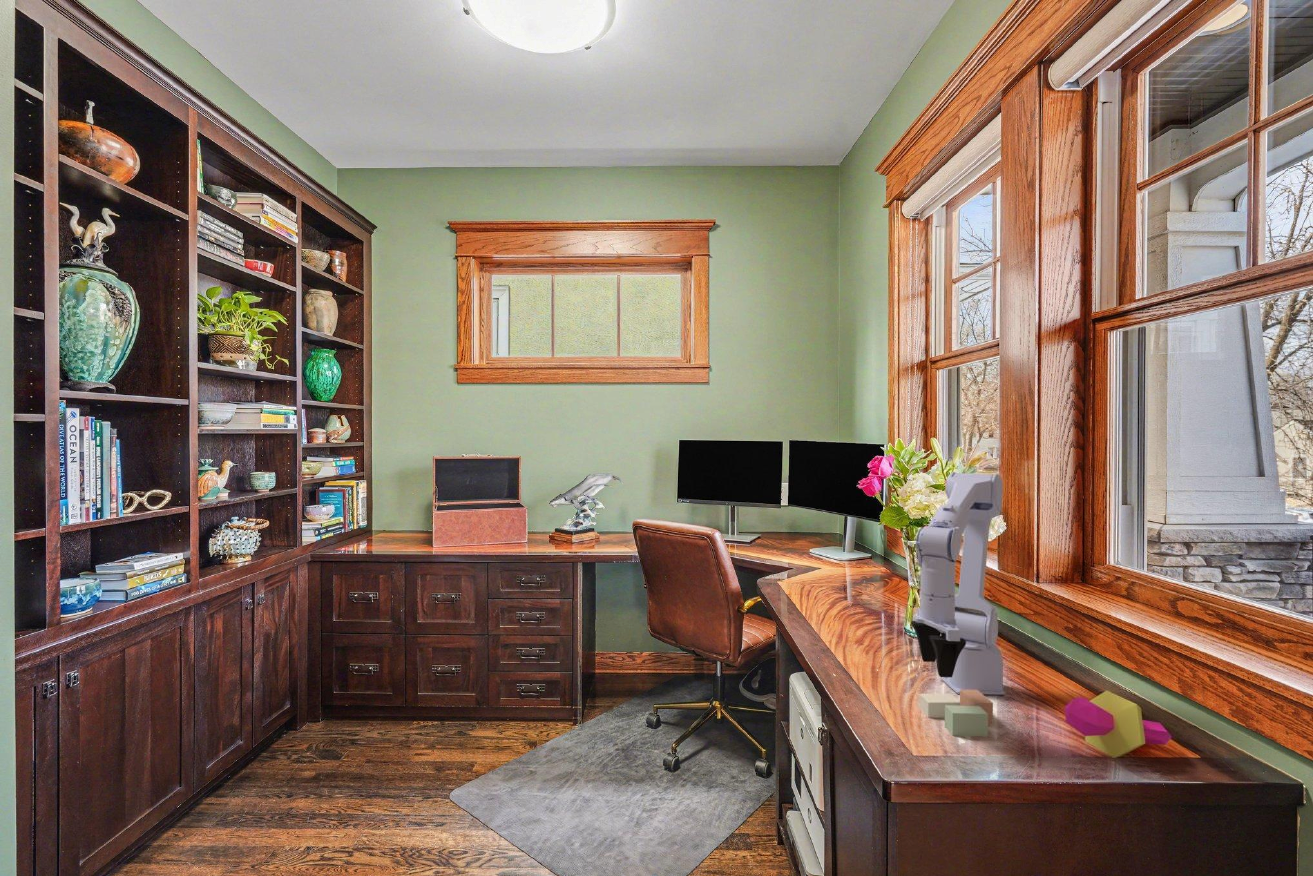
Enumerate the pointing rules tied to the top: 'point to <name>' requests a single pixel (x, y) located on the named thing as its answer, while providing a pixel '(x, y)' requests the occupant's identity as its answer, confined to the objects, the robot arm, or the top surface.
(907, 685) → the top surface
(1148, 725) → the toy
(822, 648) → the top surface
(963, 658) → the robot arm
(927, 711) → the cream brick
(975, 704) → the terracotta brick
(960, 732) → the green brick
